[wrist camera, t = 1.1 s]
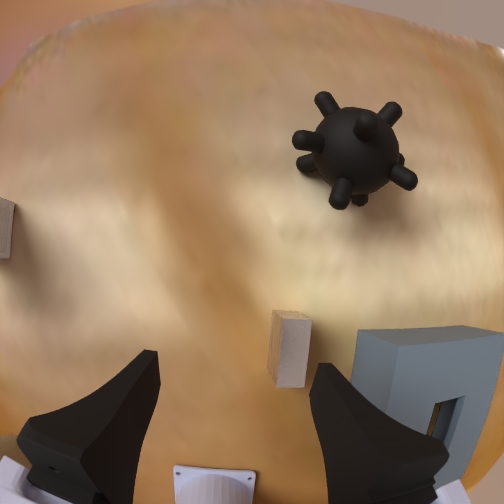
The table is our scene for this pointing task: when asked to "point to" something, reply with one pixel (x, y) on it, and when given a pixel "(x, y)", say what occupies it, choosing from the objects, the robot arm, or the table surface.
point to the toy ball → (354, 151)
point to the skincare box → (6, 227)
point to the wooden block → (289, 348)
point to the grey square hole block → (432, 383)
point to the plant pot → (12, 450)
